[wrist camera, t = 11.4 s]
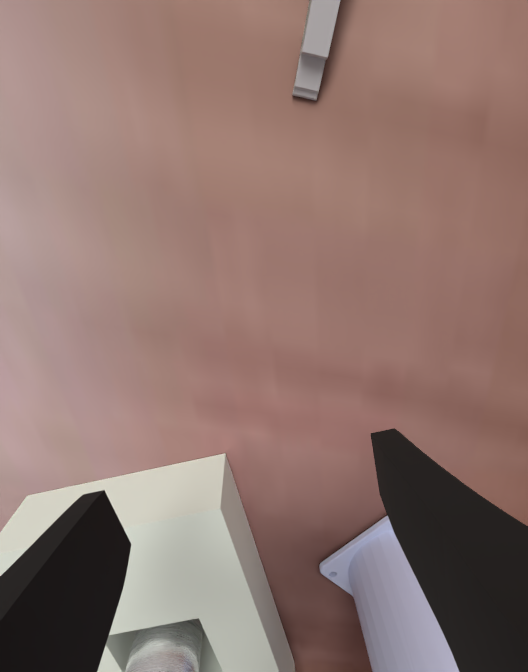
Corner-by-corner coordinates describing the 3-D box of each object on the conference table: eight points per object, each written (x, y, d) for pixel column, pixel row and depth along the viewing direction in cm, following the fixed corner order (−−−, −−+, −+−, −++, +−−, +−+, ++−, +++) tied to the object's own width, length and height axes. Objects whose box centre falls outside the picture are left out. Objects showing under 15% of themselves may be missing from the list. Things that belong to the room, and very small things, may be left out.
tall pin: (220, 586, 26) (207, 750, 18) (180, 615, 26) (153, 782, 19) (174, 557, 24) (141, 718, 17) (135, 588, 25) (87, 755, 18)
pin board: (294, 661, 29) (300, 732, 25) (143, 689, 29) (127, 762, 26) (225, 453, 22) (220, 508, 18) (27, 495, 22) (-18, 557, 18)
